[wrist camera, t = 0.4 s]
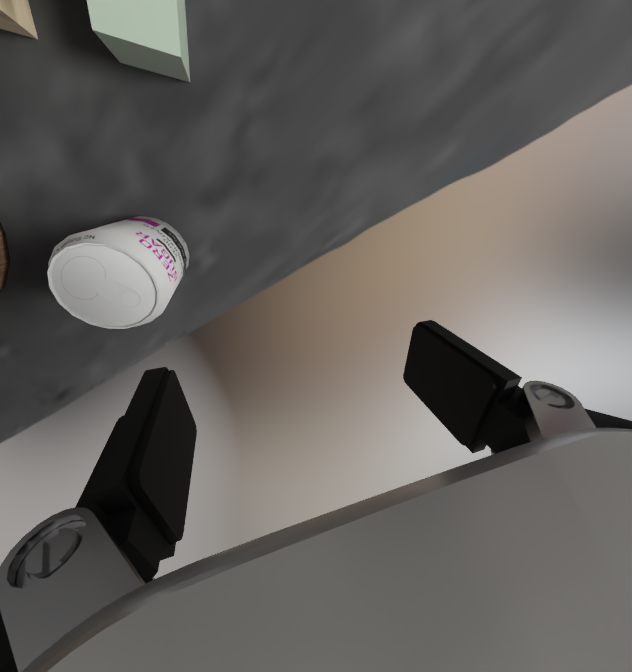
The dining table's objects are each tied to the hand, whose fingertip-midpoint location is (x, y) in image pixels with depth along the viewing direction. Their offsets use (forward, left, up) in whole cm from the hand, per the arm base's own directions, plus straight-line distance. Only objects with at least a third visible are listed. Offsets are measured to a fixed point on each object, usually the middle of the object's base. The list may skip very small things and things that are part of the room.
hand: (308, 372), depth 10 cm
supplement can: (+2, -12, -30) cm, 33 cm away
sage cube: (-18, -10, -30) cm, 36 cm away
